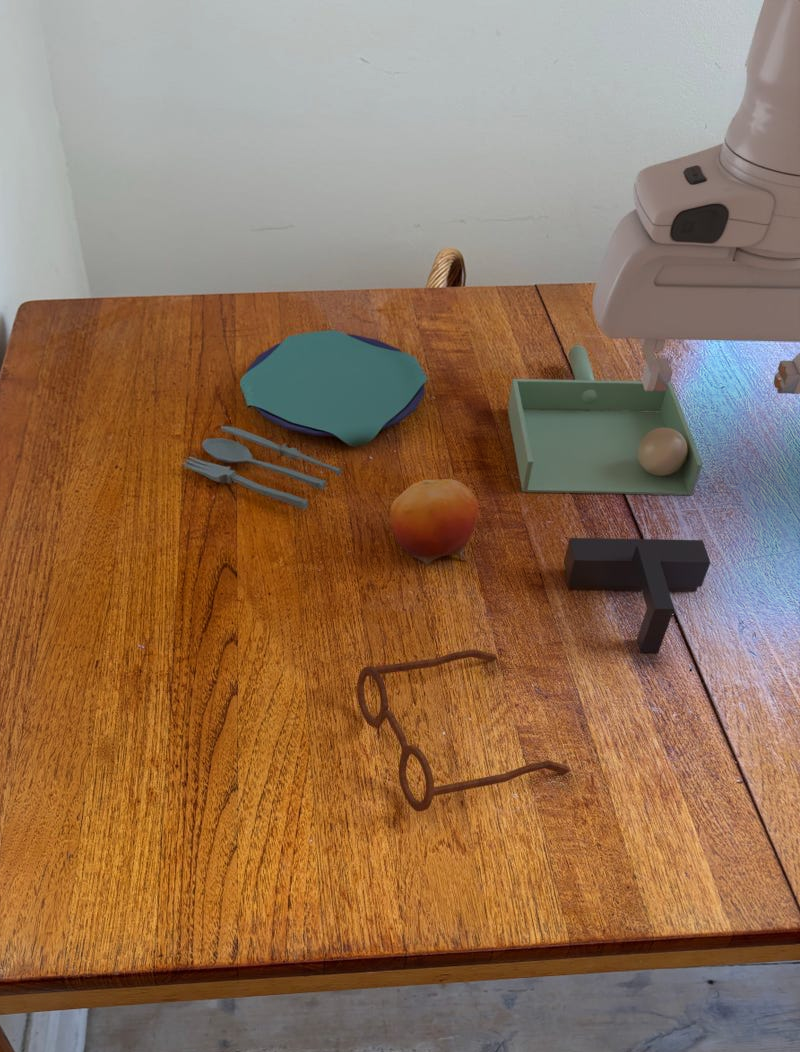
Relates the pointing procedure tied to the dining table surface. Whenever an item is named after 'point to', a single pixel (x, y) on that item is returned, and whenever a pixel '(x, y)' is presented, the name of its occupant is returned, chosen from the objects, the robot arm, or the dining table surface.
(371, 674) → the glasses
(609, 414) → the dustpan
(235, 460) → the cutlery set
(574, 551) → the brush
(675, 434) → the ball
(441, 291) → the dining table surface
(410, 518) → the fruit
